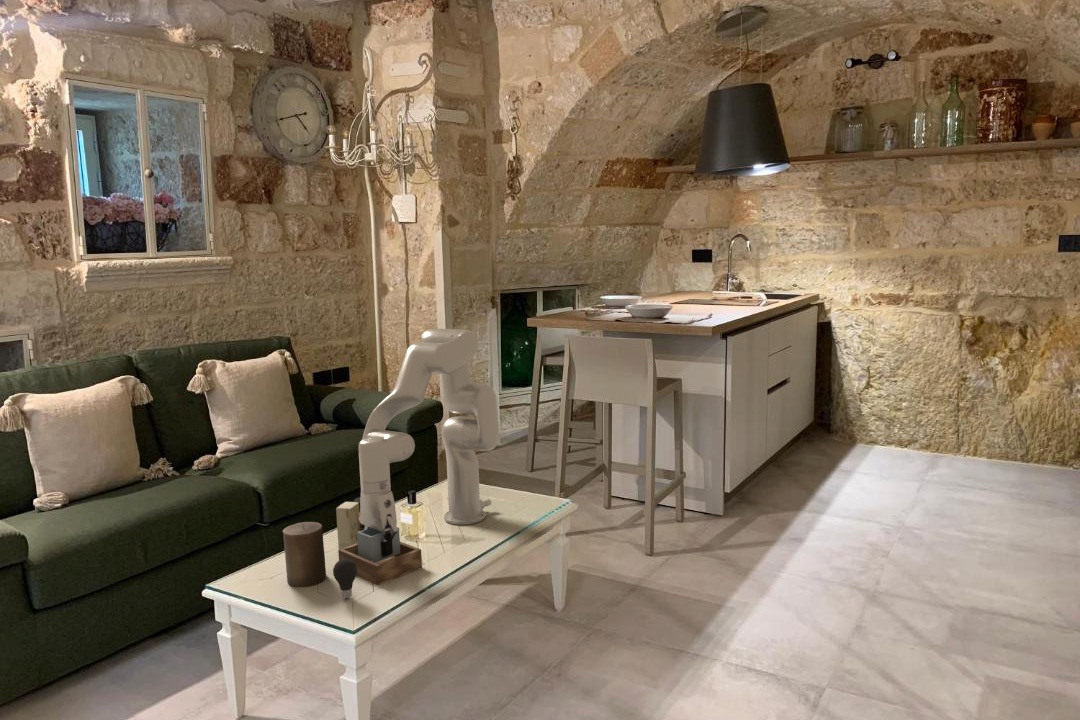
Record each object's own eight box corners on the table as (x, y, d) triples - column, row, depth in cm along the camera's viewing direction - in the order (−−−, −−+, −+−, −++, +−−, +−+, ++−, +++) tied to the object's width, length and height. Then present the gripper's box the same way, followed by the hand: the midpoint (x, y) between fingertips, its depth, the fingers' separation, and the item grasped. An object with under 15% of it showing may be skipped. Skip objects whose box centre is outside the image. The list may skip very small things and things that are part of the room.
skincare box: (352, 551, 230) (349, 509, 228) (338, 550, 231) (335, 508, 229) (362, 542, 236) (359, 501, 234) (347, 542, 237) (345, 500, 235)
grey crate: (386, 547, 223) (385, 522, 222) (400, 553, 219) (399, 527, 218) (358, 557, 216) (356, 532, 215) (372, 563, 212) (370, 537, 211)
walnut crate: (382, 552, 229) (381, 534, 228) (422, 567, 217) (421, 549, 217) (339, 567, 219) (338, 549, 218) (378, 585, 207) (376, 566, 207)
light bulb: (335, 605, 197) (332, 565, 195) (334, 595, 202) (331, 556, 200) (359, 601, 198) (357, 562, 197) (357, 592, 204) (355, 553, 202)
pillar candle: (330, 581, 210) (326, 524, 208) (291, 590, 206) (287, 532, 204) (320, 569, 219) (316, 514, 217) (282, 577, 214) (278, 521, 212)
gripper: (408, 488, 211) (411, 555, 214) (367, 476, 223) (371, 540, 226) (383, 495, 206) (387, 564, 209) (344, 482, 218) (348, 548, 220)
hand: (379, 551), depth 217 cm, fingers closed on grey crate, 6 cm apart
